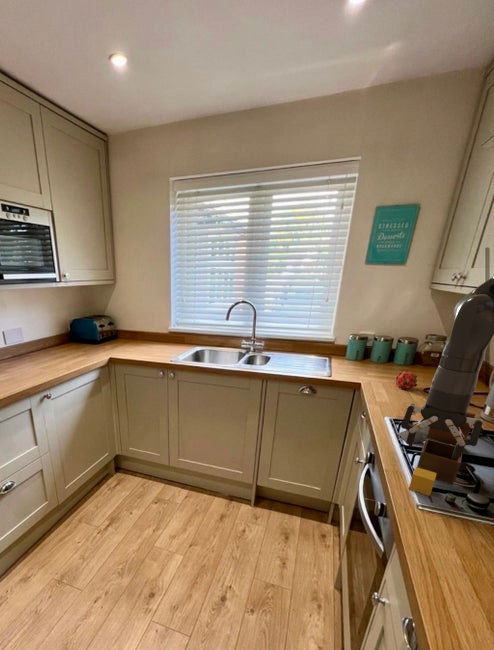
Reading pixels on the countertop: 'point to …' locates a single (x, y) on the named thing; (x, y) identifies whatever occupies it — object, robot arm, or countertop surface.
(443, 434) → the lid
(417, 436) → the paper boat
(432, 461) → the chest
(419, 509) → the countertop surface
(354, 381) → the countertop surface
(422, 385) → the countertop surface
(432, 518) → the countertop surface
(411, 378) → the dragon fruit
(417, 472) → the block
